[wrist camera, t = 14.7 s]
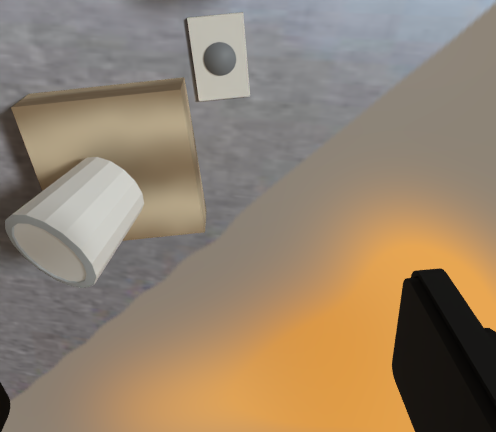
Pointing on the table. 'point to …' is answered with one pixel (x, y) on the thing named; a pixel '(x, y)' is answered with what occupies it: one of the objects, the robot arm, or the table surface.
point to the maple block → (123, 146)
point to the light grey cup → (77, 221)
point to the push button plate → (219, 56)
